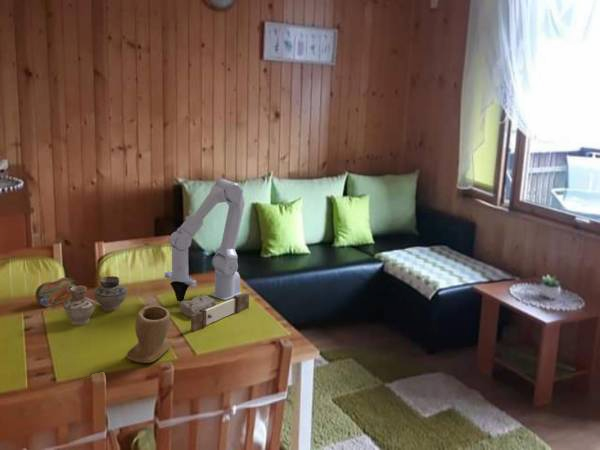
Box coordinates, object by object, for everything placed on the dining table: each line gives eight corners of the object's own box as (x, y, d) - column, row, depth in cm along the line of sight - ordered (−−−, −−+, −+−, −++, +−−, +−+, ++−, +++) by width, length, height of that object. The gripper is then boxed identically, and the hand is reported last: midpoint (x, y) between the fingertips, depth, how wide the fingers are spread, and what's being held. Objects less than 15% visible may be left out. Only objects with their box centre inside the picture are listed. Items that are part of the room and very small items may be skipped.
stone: (174, 313, 207) (196, 322, 203) (175, 298, 206) (198, 305, 202) (197, 305, 219) (220, 313, 215) (199, 290, 218) (221, 297, 213)
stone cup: (157, 369, 170) (156, 320, 166) (121, 361, 173) (119, 313, 169) (183, 347, 184) (183, 301, 180) (149, 340, 187) (148, 295, 183)
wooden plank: (245, 306, 217) (245, 291, 215) (249, 308, 216) (249, 292, 214) (190, 330, 196) (190, 313, 194) (194, 331, 194) (194, 314, 193)
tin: (39, 309, 206) (38, 286, 204) (34, 307, 208) (33, 284, 206) (78, 297, 218) (77, 276, 216) (73, 295, 220) (72, 274, 218)
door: (234, 311, 211) (234, 298, 210) (237, 312, 210) (238, 299, 209) (203, 324, 200) (203, 310, 198) (207, 325, 199) (207, 311, 197)
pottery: (56, 324, 196) (54, 289, 193) (109, 299, 218) (108, 268, 215) (82, 331, 191) (81, 296, 188) (134, 305, 214) (133, 273, 211)
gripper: (157, 262, 214) (158, 298, 217) (186, 272, 205) (186, 308, 209) (172, 258, 219) (173, 293, 223) (200, 267, 211) (200, 303, 214)
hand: (180, 300), depth 216 cm, fingers closed
